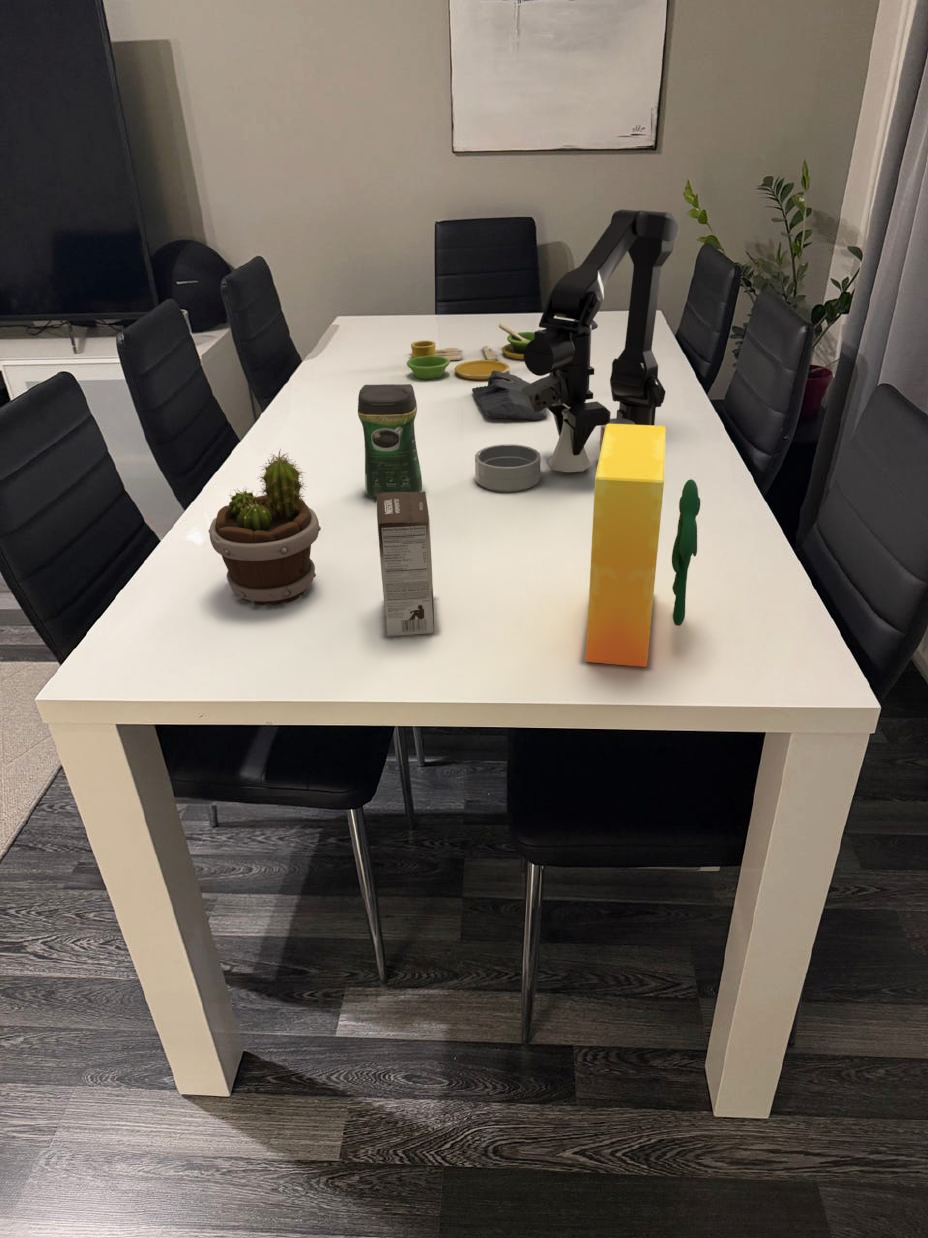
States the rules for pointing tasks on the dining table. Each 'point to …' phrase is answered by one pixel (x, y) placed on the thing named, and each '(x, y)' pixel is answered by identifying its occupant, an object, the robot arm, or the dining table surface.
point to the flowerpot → (268, 538)
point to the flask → (567, 452)
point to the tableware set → (434, 364)
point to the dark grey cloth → (505, 398)
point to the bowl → (507, 467)
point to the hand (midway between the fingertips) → (570, 449)
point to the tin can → (613, 421)
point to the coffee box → (406, 562)
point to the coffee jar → (389, 438)
